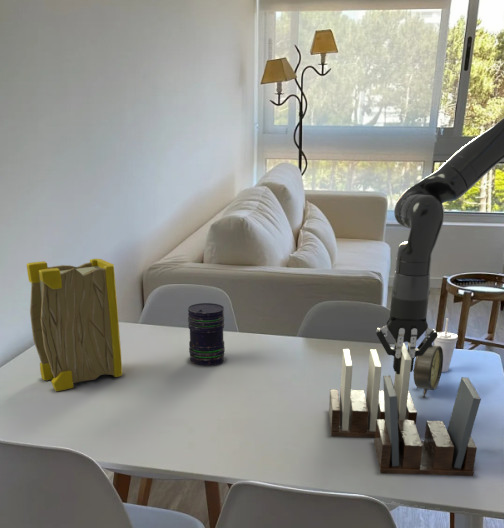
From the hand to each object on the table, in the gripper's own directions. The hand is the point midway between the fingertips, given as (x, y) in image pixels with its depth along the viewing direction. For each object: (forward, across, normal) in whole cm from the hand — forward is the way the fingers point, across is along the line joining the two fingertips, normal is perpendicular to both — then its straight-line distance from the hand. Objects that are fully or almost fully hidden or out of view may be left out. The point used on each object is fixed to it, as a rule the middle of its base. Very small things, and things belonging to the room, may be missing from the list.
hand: (402, 372), depth 153 cm
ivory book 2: (+12, +6, 0) cm, 13 cm away
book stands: (+13, +2, +8) cm, 15 cm away
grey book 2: (+12, -9, +16) cm, 22 cm away
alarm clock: (+13, -10, -21) cm, 26 cm away
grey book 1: (+12, +3, +16) cm, 20 cm away
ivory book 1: (+12, +12, 0) cm, 17 cm away
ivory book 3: (+10, 0, 0) cm, 10 cm away
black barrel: (+13, +48, -40) cm, 63 cm away
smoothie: (+13, -16, -37) cm, 42 cm away
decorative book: (+13, +78, -24) cm, 83 cm away
